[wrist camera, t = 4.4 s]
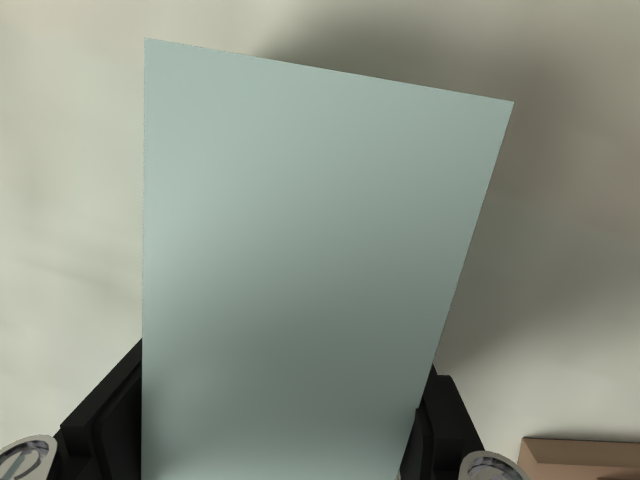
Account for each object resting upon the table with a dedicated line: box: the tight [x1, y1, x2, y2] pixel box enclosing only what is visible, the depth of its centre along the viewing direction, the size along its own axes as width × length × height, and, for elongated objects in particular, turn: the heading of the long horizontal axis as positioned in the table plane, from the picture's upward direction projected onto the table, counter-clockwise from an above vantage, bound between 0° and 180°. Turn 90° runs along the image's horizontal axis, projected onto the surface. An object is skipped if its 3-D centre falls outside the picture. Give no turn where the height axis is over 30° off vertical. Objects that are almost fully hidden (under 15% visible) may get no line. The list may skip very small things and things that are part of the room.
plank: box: [141, 38, 514, 480], centre depth 10 cm, size 16×6×4 cm, turn 171°
